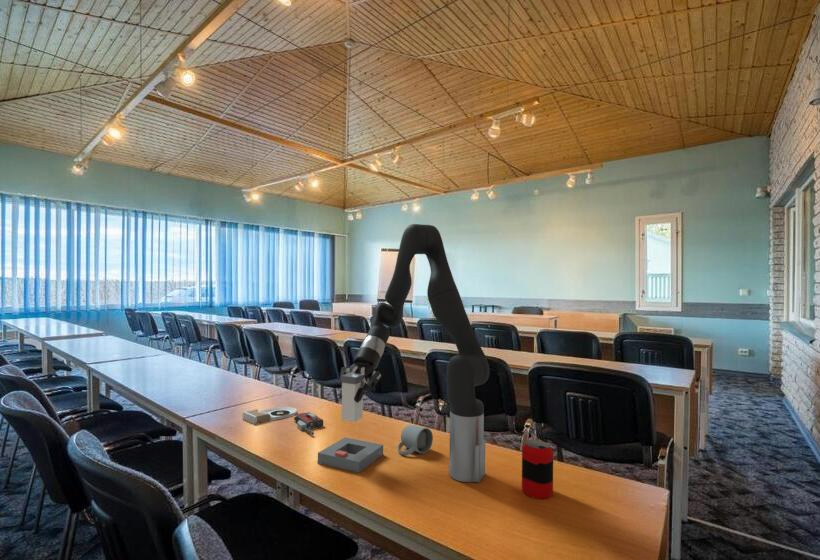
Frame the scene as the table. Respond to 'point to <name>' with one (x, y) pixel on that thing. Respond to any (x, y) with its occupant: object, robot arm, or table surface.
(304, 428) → the walkie-talkie
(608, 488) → the table surface
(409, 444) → the ceramic mug
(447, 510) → the table surface
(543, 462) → the soda can
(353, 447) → the socket
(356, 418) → the plug
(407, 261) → the robot arm
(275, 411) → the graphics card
